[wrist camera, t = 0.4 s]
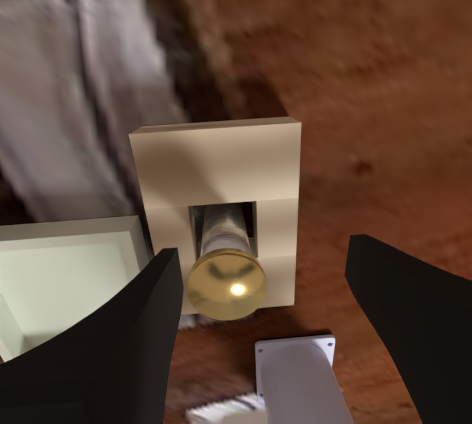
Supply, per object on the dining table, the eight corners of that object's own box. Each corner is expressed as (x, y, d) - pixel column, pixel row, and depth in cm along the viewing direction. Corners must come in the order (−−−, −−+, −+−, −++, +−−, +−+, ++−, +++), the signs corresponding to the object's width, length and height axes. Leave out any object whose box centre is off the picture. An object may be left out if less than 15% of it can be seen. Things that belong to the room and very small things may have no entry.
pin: (250, 234, 23) (267, 316, 15) (201, 238, 23) (192, 323, 15) (248, 188, 21) (266, 253, 13) (195, 192, 21) (181, 260, 13)
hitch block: (285, 280, 25) (293, 304, 22) (173, 290, 25) (167, 316, 22) (289, 116, 19) (301, 122, 16) (141, 126, 19) (128, 134, 16)
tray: (166, 336, 27) (161, 359, 25) (28, 348, 27) (11, 373, 25) (138, 215, 22) (129, 231, 19) (-36, 228, 21) (-66, 246, 19)
